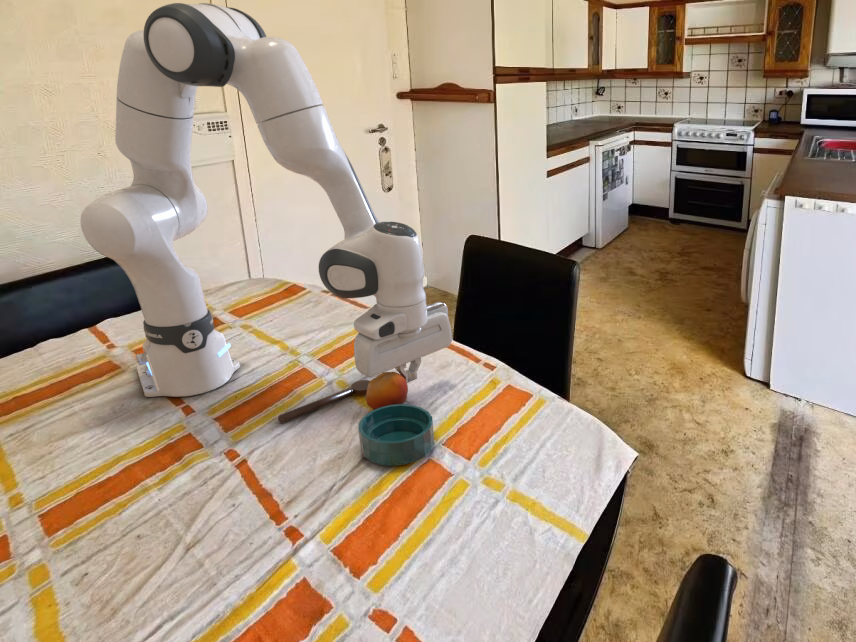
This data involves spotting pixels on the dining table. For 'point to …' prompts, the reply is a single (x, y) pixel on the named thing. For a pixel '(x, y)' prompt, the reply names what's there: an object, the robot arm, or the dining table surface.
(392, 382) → the fruit
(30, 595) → the dining table surface
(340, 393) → the spoon
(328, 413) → the dining table surface
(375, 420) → the bowl
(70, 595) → the dining table surface
